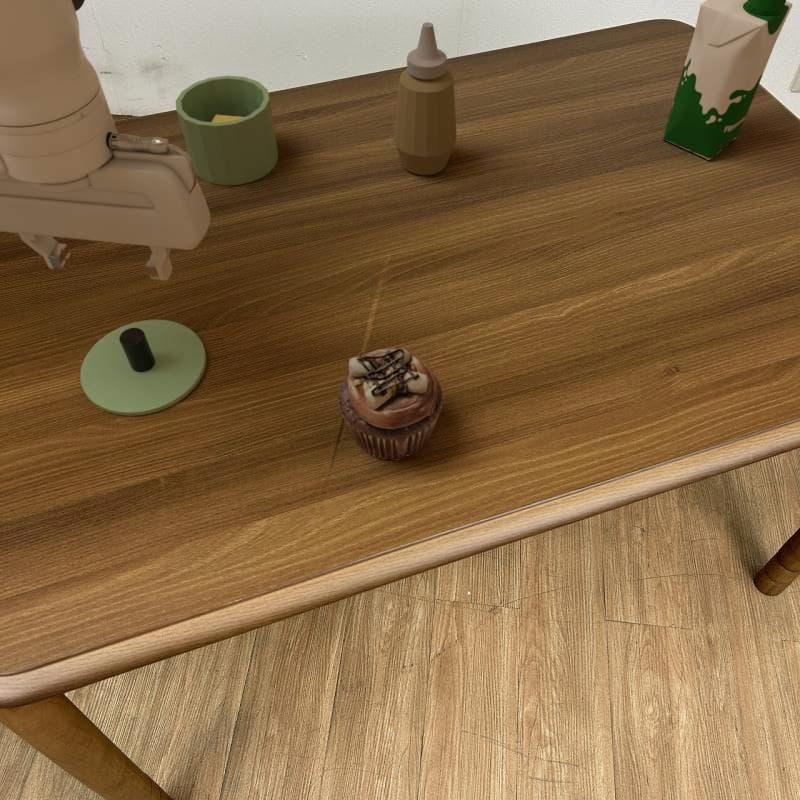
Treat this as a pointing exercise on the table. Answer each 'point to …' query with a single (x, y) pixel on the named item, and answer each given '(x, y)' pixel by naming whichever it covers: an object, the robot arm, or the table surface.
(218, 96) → the tin
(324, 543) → the table surface
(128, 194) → the robot arm
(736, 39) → the milk carton
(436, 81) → the squeeze bottle
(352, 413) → the cupcake
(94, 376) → the lid
